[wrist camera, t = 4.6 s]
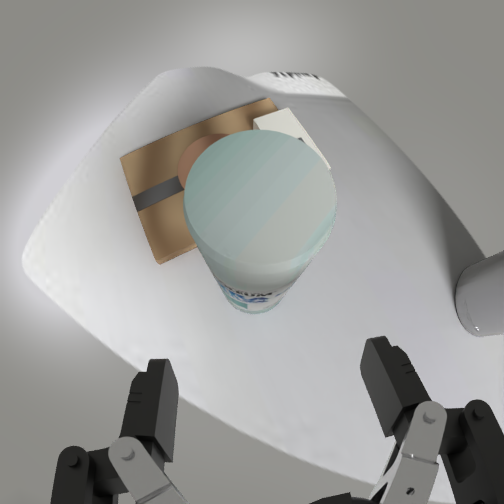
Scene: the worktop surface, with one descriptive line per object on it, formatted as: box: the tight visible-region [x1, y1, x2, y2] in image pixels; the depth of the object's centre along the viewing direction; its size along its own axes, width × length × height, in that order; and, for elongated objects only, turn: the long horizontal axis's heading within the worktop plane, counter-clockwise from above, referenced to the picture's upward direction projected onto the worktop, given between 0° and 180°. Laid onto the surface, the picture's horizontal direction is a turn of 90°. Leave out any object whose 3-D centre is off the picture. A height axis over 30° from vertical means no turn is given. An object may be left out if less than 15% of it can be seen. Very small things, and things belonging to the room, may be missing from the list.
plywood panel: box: [120, 98, 279, 264], centre depth 34 cm, size 20×14×2 cm
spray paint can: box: [183, 130, 336, 314], centre depth 22 cm, size 6×6×20 cm
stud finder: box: [253, 108, 331, 170], centre depth 33 cm, size 9×4×3 cm, turn 26°
